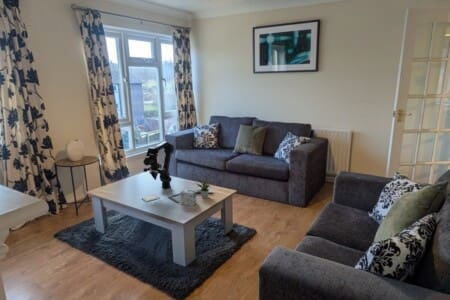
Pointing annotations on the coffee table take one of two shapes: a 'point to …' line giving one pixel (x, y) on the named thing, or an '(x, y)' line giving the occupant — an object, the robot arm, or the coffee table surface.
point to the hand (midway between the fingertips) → (155, 179)
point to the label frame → (174, 199)
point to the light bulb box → (188, 197)
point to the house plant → (204, 188)
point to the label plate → (150, 198)
